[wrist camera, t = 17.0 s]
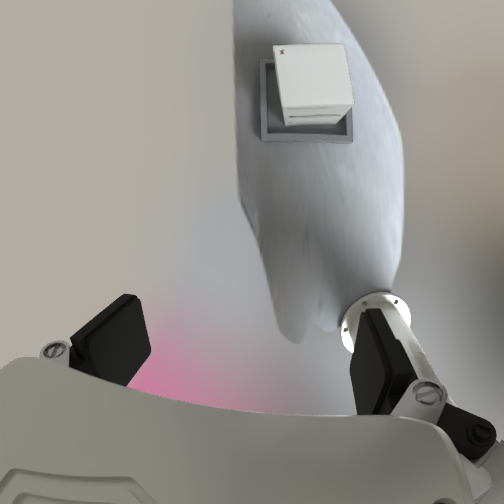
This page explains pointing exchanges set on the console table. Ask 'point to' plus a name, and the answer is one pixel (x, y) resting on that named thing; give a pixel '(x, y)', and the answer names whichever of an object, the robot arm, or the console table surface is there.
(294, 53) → the supplement box
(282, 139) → the holder tray
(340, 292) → the console table surface
